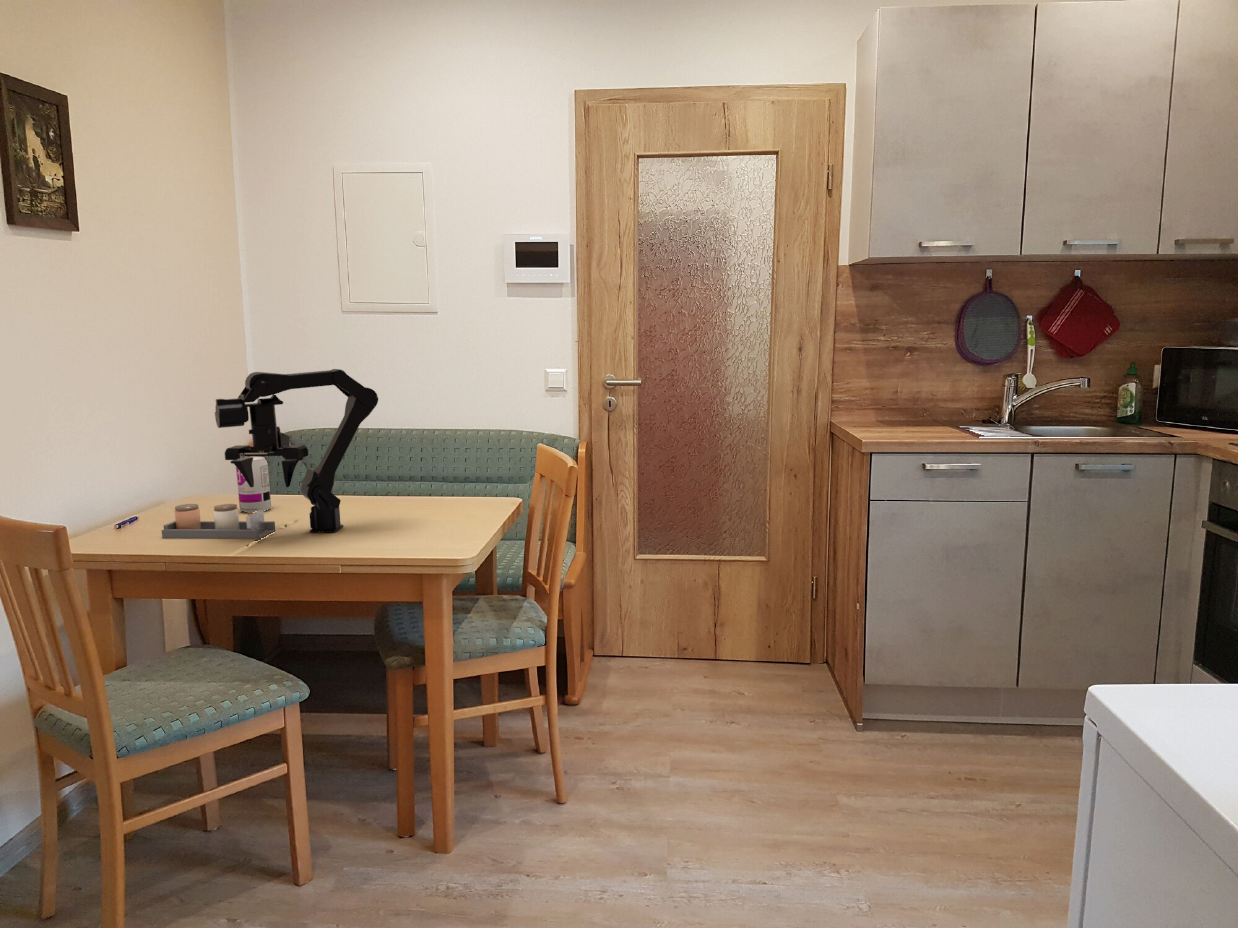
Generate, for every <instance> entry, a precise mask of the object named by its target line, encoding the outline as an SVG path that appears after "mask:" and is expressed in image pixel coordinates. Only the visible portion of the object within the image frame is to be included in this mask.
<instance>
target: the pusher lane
mask: <svg viewBox="0 0 1238 928" xmlns="http://www.w3.org/2000/svg"><path fill="white" fill-rule="evenodd" d="M200 521H201V529H176V520H174V521H170V522H169V523H166V524H163V529H162V530H161V538H162V539H180V540H181V539H188V540H189V539H194V540H196V539H197V540H198V539H199V540H201V539H203V540H204V539H207V540H208V539H210V540H212V539H215V540H216V539H217V540H218V539H219V540H220V539H222V540H234V539H235V540H253V541H258V540H261V538H264V537H266V536H267V535H269V534H271V533H273V532H275V531H276V522H275V521H274V520H273V521H268V520H267V521H266V520H264V522H265V530H263V531H261V532H259V531H258V530H247V521H246V520H244V521H242V520H241V521H240V520H239V527H240V530H220V529H215V522H214V520H211V521H210V520H200ZM261 541H262V540H261Z"/></svg>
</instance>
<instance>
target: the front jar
mask: <svg viewBox="0 0 1238 928" xmlns="http://www.w3.org/2000/svg"><path fill="white" fill-rule="evenodd" d="M174 517H175V520H176V529H201V521H202V520H201V513H200V507H199V504H197V503H184V504H180V505H176V506H174ZM175 520H174V521H175Z"/></svg>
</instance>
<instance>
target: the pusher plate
mask: <svg viewBox="0 0 1238 928" xmlns="http://www.w3.org/2000/svg"><path fill="white" fill-rule="evenodd" d="M264 512H265V511H263V510H259V511H257V512H255V513H249V515H247V516H245V518H246V520H245V521H247V530H258V531H259V532H261V531H263V530H265V522H264V521H265V514H264Z"/></svg>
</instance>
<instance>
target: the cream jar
mask: <svg viewBox="0 0 1238 928" xmlns="http://www.w3.org/2000/svg"><path fill="white" fill-rule="evenodd" d="M239 517H240V516H239V508H238V504H235V503H223V504H218V505H214V506H213V521H214V522H215V529H220V530H240V527H239V521H240V519H239Z"/></svg>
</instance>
